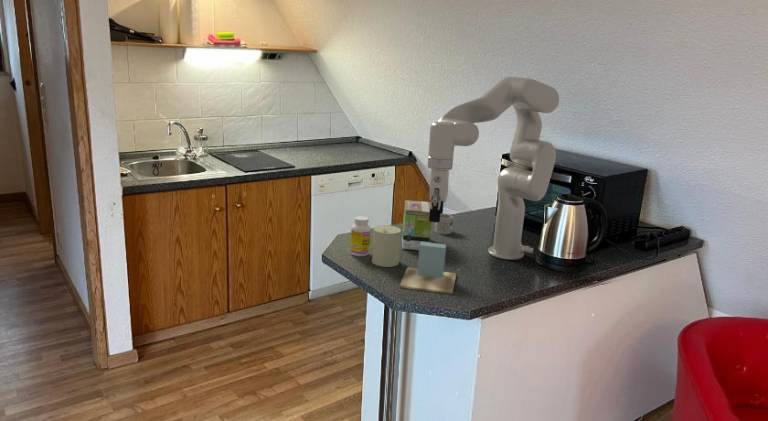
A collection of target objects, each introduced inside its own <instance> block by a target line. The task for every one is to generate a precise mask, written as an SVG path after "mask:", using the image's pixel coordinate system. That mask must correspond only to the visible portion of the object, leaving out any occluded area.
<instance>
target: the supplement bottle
mask: <svg viewBox="0 0 768 421" xmlns="http://www.w3.org/2000/svg"><path fill="white" fill-rule="evenodd" d="M350 229H351V230H350V247H349V251H350V252H349V253H350V254H351V255H353V256H355V257H366V256H368V255H369V253H370V245H371V233H372V232H371V231H372V230H371V229H372V228H371V226H370V225H369V217H367V216H363V215H359V216H355V217H354V224H352V226H351V228H350Z"/></svg>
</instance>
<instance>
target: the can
mask: <svg viewBox="0 0 768 421" xmlns="http://www.w3.org/2000/svg"><path fill="white" fill-rule="evenodd" d="M401 238H402V229H401V228H399V227H398V226H393V225H382V224H381V225H376V226H375V227H374V228H373V241H372V242H373V243H372V256H371V258H372V259H371V263H372V264H373V265H376V266H378V267H384V268H390V267H391V268H392V267H396V266H398V265H399V263H400V246H401Z"/></svg>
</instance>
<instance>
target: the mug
mask: <svg viewBox="0 0 768 421" xmlns="http://www.w3.org/2000/svg"><path fill="white" fill-rule="evenodd" d="M453 218H454V216H453V215H451V214H447V213H442V214H440V222H434V223H435V224H434V233H435V234H437V235H446V236H448V235H450V234H452V229H453Z"/></svg>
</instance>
